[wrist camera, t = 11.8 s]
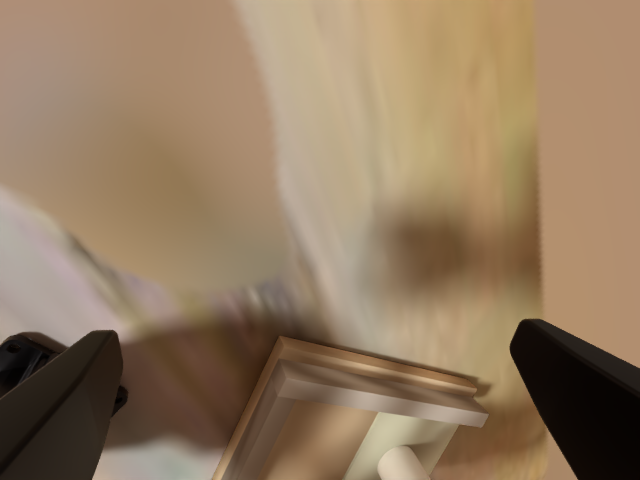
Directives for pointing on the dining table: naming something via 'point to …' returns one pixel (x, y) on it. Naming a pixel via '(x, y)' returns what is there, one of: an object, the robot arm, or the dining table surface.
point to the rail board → (342, 415)
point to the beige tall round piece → (401, 465)
